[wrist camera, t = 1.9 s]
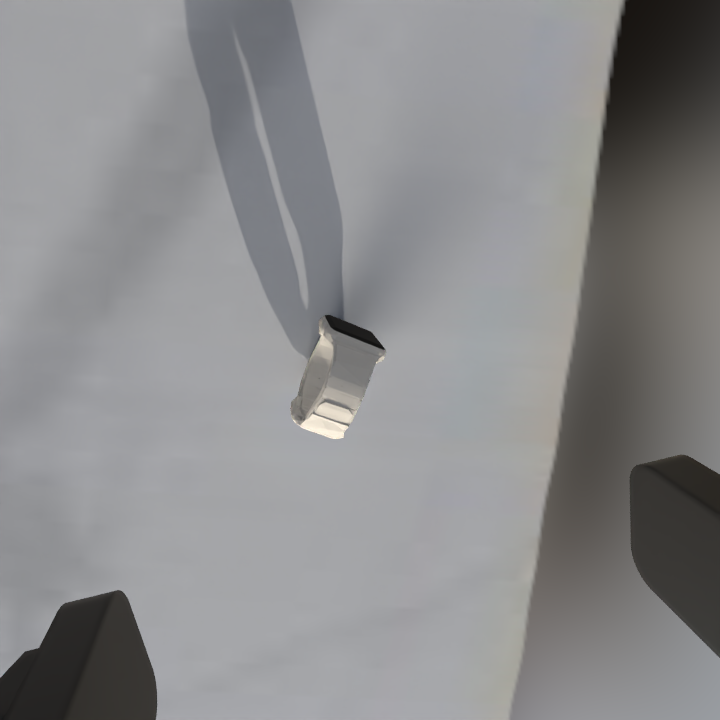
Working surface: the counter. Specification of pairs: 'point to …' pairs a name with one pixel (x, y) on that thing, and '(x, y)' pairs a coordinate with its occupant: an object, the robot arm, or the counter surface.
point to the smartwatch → (336, 377)
